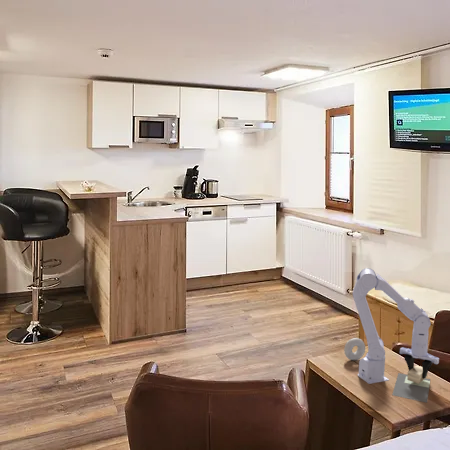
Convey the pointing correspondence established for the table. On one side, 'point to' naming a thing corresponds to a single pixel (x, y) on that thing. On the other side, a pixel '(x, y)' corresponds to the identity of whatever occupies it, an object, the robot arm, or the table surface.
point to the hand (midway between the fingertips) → (417, 375)
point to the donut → (349, 347)
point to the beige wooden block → (416, 374)
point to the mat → (411, 388)
